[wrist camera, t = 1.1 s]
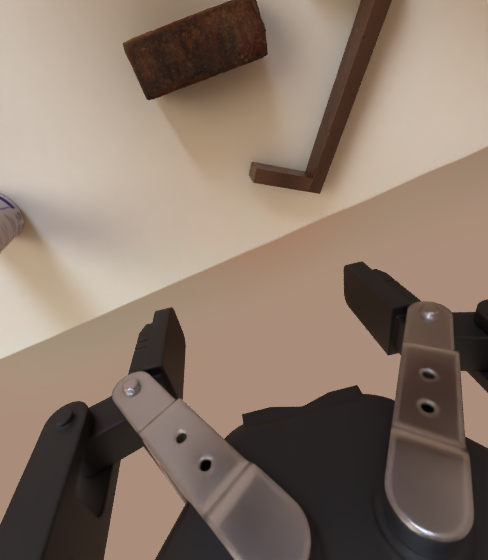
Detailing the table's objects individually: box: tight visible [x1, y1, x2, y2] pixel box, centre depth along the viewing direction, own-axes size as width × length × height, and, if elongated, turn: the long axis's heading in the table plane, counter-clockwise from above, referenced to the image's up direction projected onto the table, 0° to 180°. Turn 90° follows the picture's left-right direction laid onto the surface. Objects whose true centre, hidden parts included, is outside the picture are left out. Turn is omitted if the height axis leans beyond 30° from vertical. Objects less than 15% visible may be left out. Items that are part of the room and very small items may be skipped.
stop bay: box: [249, 0, 392, 194], centre depth 27 cm, size 8×20×2 cm, turn 168°
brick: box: [123, 0, 267, 100], centre depth 23 cm, size 11×4×5 cm, turn 106°
